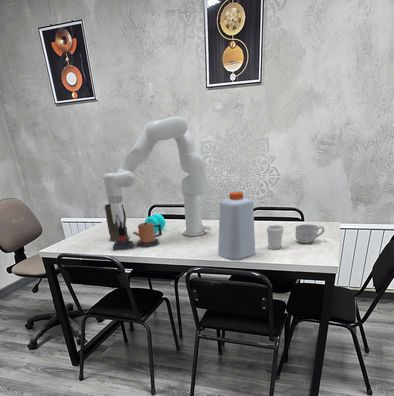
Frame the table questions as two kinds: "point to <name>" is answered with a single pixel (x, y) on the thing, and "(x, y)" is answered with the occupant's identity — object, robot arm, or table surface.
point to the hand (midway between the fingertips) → (122, 235)
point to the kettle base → (148, 243)
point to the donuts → (156, 221)
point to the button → (122, 239)
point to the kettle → (147, 232)
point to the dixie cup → (274, 236)
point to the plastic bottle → (236, 227)
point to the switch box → (123, 245)
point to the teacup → (307, 233)
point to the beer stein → (113, 227)
